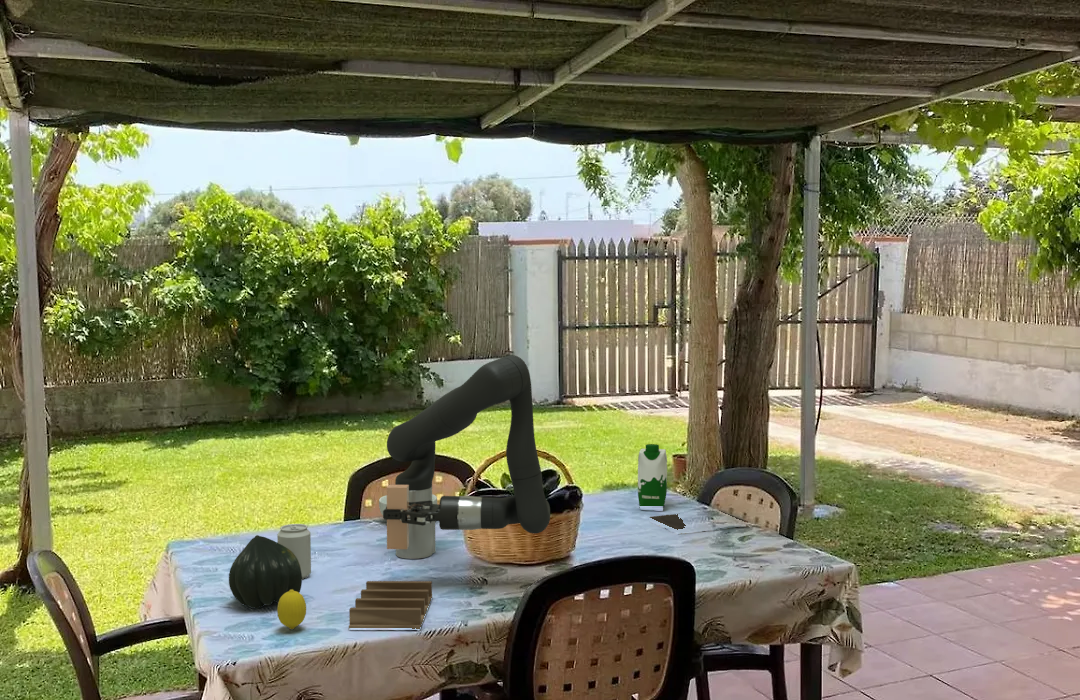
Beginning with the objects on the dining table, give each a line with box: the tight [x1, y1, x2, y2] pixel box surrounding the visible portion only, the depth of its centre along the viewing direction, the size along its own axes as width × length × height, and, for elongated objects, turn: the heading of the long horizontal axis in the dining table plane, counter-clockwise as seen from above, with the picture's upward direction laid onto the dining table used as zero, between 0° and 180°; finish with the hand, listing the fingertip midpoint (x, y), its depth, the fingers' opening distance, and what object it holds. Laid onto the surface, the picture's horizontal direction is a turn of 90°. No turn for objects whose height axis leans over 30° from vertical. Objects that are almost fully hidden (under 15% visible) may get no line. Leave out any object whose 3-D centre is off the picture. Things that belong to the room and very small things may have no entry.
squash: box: [228, 534, 303, 609], centre depth 206 cm, size 14×15×15 cm
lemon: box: [276, 590, 307, 630], centre depth 190 cm, size 6×6×8 cm
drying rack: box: [348, 580, 433, 629], centre depth 199 cm, size 20×14×4 cm
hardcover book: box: [649, 509, 749, 530], centre depth 275 cm, size 16×23×2 cm
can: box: [276, 523, 312, 580], centre depth 224 cm, size 8×8×12 cm
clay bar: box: [386, 484, 409, 550], centre depth 216 cm, size 3×4×14 cm, turn 89°
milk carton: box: [637, 443, 668, 507], centre depth 294 cm, size 9×9×20 cm
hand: (385, 512), depth 216 cm, fingers closed on clay bar, 3 cm apart
